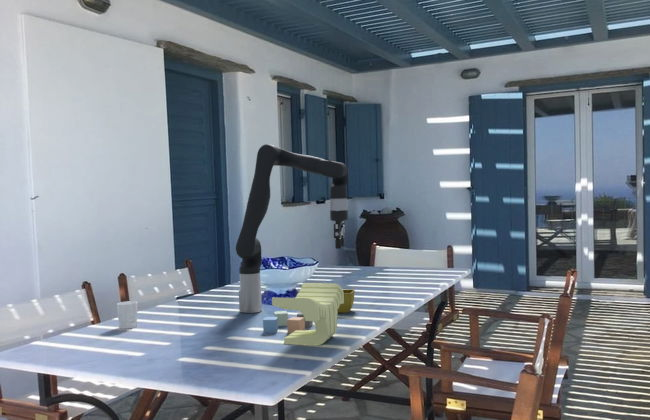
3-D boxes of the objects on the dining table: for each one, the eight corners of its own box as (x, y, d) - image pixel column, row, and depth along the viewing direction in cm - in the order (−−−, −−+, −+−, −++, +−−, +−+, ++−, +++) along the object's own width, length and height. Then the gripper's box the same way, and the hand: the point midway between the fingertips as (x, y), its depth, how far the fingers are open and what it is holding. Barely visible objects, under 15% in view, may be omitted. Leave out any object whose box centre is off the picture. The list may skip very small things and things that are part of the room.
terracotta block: (287, 333, 223) (287, 319, 223) (292, 329, 228) (292, 316, 228) (299, 333, 221) (299, 320, 221) (304, 330, 226) (304, 317, 226)
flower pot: (352, 314, 252) (351, 292, 252) (332, 313, 254) (331, 292, 254) (355, 309, 261) (354, 289, 260) (335, 309, 262) (335, 289, 262)
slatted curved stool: (319, 352, 194) (317, 298, 194) (274, 350, 199) (271, 297, 199) (345, 330, 223) (343, 283, 222) (305, 329, 228) (303, 282, 227)
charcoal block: (297, 327, 232) (296, 314, 232) (300, 324, 237) (300, 311, 237) (309, 327, 231) (309, 314, 231) (312, 324, 236) (312, 311, 236)
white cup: (119, 330, 238) (118, 305, 237) (116, 326, 245) (115, 302, 244) (139, 327, 241) (138, 303, 241) (136, 324, 248) (135, 300, 248)
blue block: (263, 333, 224) (262, 320, 224) (265, 330, 229) (264, 317, 229) (276, 332, 224) (276, 319, 224) (278, 329, 229) (277, 316, 229)
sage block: (275, 326, 234) (274, 314, 234) (274, 323, 239) (274, 311, 239) (288, 325, 235) (287, 313, 235) (287, 323, 240) (286, 310, 240)
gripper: (333, 208, 260) (334, 245, 260) (327, 210, 246) (328, 249, 246) (350, 208, 258) (351, 245, 259) (345, 209, 244) (346, 249, 245)
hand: (339, 247), depth 252 cm, fingers open, 8 cm apart
